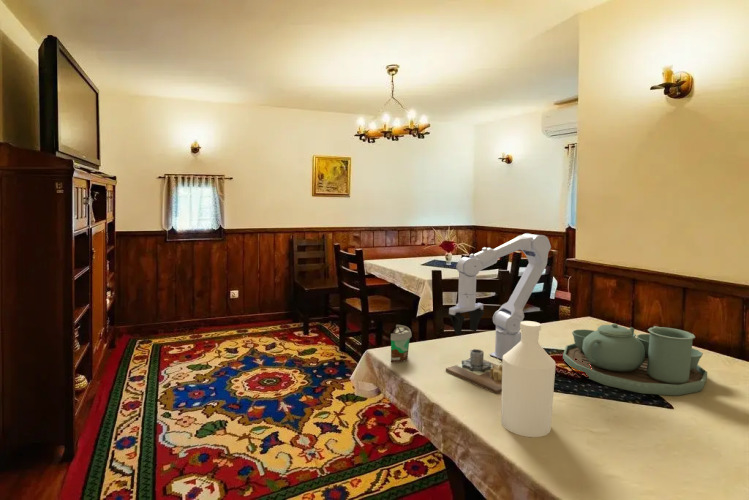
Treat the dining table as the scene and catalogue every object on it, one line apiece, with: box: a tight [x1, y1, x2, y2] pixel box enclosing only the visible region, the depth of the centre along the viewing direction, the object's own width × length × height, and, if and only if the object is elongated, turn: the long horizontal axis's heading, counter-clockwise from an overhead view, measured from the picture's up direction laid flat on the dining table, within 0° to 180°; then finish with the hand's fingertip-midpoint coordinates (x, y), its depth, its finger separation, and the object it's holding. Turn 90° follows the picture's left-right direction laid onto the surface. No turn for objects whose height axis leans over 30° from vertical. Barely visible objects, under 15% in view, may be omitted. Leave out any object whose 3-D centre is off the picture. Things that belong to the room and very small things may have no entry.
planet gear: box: [461, 348, 492, 372], centre depth 139 cm, size 9×9×5 cm
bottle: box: [500, 320, 557, 438], centre depth 104 cm, size 12×12×25 cm
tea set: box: [562, 323, 708, 397], centre depth 141 cm, size 40×40×16 cm
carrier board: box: [445, 359, 503, 395], centre depth 135 cm, size 16×20×4 cm
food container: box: [390, 324, 412, 363], centre depth 149 cm, size 12×6×10 cm, turn 168°
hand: (465, 332), depth 148 cm, fingers open, 7 cm apart
